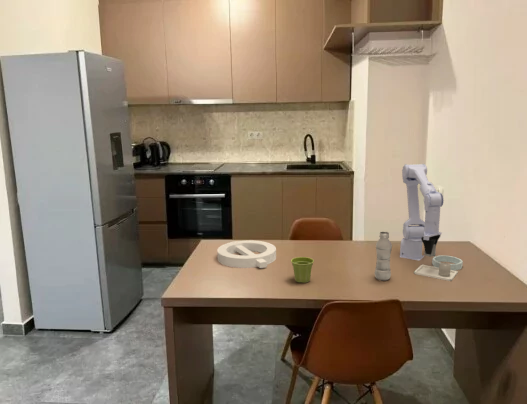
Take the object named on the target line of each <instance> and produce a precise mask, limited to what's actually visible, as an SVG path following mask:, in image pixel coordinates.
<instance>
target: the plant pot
mask: <svg viewBox="0 0 527 404" xmlns="http://www.w3.org/2000/svg"><path fill="white" fill-rule="evenodd" d="M290 262H291V264H292V268H293V275H294V280H295V282H296V283H305V284H306V283H308V282H310V281H311V275H312V268H313V265H314V262H315V260H314V258H311V257H308V256H297V257H292V259H291V260H290Z"/></svg>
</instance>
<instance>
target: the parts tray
mask: <svg viewBox="0 0 527 404" xmlns="http://www.w3.org/2000/svg"><path fill="white" fill-rule="evenodd" d="M458 273H459V270H455V271H454V270H450V276H449V277H442V276H440V275H439V268H438V267H434V266H433V265H426V264H421V265H419V266H418V267H417V268H416V269H415V270H414V271H413V274H414V275H417V276H422V277H429V278H432V279H438V280H442V281H447V282H452V281H453V280H454V279H455V277H456V276H457V275H458Z"/></svg>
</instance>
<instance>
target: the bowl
mask: <svg viewBox="0 0 527 404" xmlns="http://www.w3.org/2000/svg"><path fill="white" fill-rule="evenodd" d="M440 263H449V264H450V265H451V270H454V271H460V270H462V268H463V263H464V261H463V260H462V259H461V258H459V257H456V256H451V255H442V254H441V255H440V254H439V255H435V256H433V257H432V260H431V264H432V265H431V266H433V267H438V268H439V264H440Z"/></svg>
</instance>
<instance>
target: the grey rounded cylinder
mask: <svg viewBox="0 0 527 404" xmlns="http://www.w3.org/2000/svg"><path fill="white" fill-rule="evenodd" d="M450 264H451V263H449V262H441V263H440V264H439V275H440V276H442V277H449V276H450V270H451V265H450Z"/></svg>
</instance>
